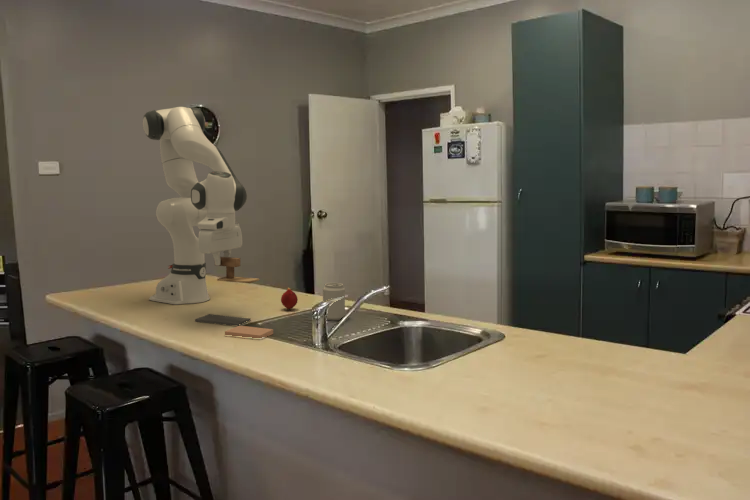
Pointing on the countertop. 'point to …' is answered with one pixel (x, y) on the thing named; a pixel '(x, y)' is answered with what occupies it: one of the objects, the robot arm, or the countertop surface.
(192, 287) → the robot arm
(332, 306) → the can
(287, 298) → the onion
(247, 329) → the tile
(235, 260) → the wooden trowel
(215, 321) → the mat
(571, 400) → the countertop surface
